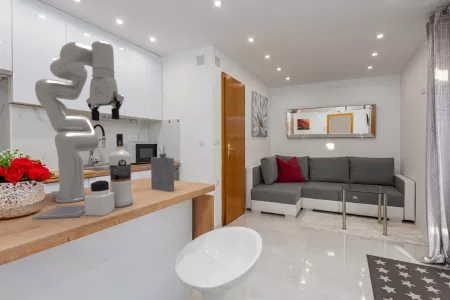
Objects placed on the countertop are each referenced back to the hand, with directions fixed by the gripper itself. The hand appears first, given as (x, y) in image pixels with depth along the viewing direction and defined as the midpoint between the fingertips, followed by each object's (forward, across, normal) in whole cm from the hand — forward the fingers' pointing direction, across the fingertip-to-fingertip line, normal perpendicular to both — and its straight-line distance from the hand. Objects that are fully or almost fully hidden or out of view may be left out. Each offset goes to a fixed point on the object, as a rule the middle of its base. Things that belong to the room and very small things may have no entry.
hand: (105, 119), depth 90 cm
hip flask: (+35, +1, +37) cm, 51 cm away
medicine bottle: (+36, 0, -5) cm, 36 cm away
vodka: (+35, 0, +7) cm, 36 cm away
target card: (+35, -13, -7) cm, 38 cm away
